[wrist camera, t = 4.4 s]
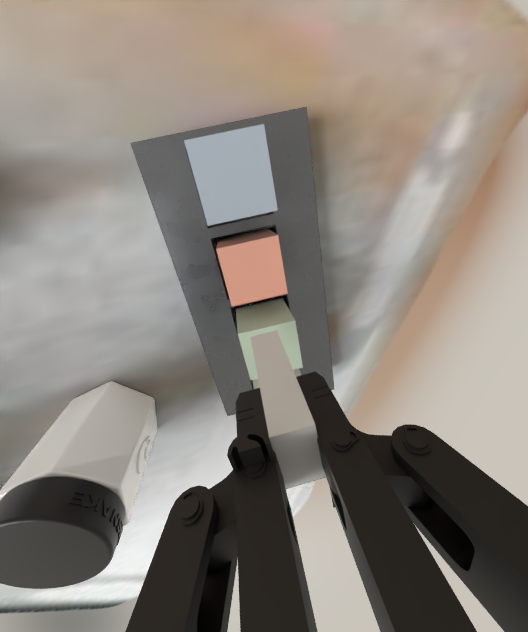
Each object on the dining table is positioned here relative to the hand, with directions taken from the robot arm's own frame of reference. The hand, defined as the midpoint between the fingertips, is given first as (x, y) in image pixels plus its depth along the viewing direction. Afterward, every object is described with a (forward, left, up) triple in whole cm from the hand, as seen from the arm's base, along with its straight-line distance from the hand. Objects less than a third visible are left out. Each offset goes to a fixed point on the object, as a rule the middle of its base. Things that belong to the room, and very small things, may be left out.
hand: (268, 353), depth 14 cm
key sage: (-1, -2, -8) cm, 8 cm away
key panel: (+1, 0, -10) cm, 10 cm away
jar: (-19, +2, -10) cm, 22 cm away
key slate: (+6, +7, -8) cm, 12 cm away
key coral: (+2, +3, -9) cm, 10 cm away
